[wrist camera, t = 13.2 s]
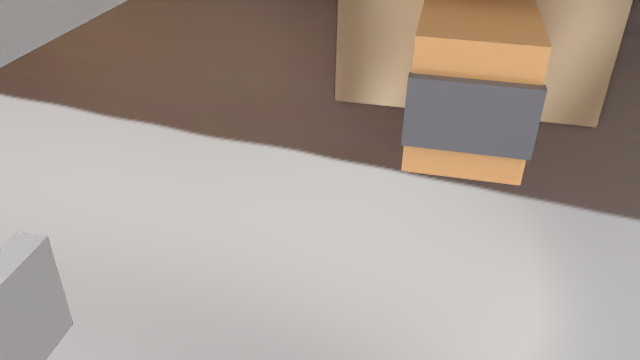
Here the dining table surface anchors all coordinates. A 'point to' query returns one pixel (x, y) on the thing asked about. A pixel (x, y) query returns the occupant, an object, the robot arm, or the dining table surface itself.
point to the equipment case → (42, 22)
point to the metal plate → (561, 76)
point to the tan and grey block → (475, 89)
